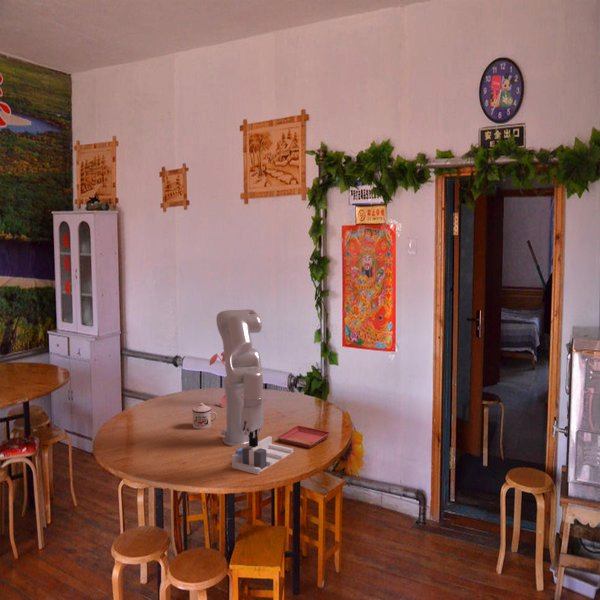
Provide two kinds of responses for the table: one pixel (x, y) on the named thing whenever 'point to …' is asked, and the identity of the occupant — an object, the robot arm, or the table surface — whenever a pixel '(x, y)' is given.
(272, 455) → the white ribbed panel
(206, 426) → the teacup with lid
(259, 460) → the block
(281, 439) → the plant saucer
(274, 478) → the table surface
